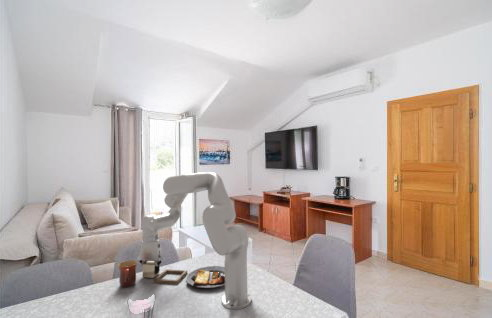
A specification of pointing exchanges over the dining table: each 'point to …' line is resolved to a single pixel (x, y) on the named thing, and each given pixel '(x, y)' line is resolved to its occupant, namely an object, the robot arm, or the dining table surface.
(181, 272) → the walnut frame
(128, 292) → the dining table surface
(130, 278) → the mug
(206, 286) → the food plate
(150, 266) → the birch block
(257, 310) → the dining table surface
